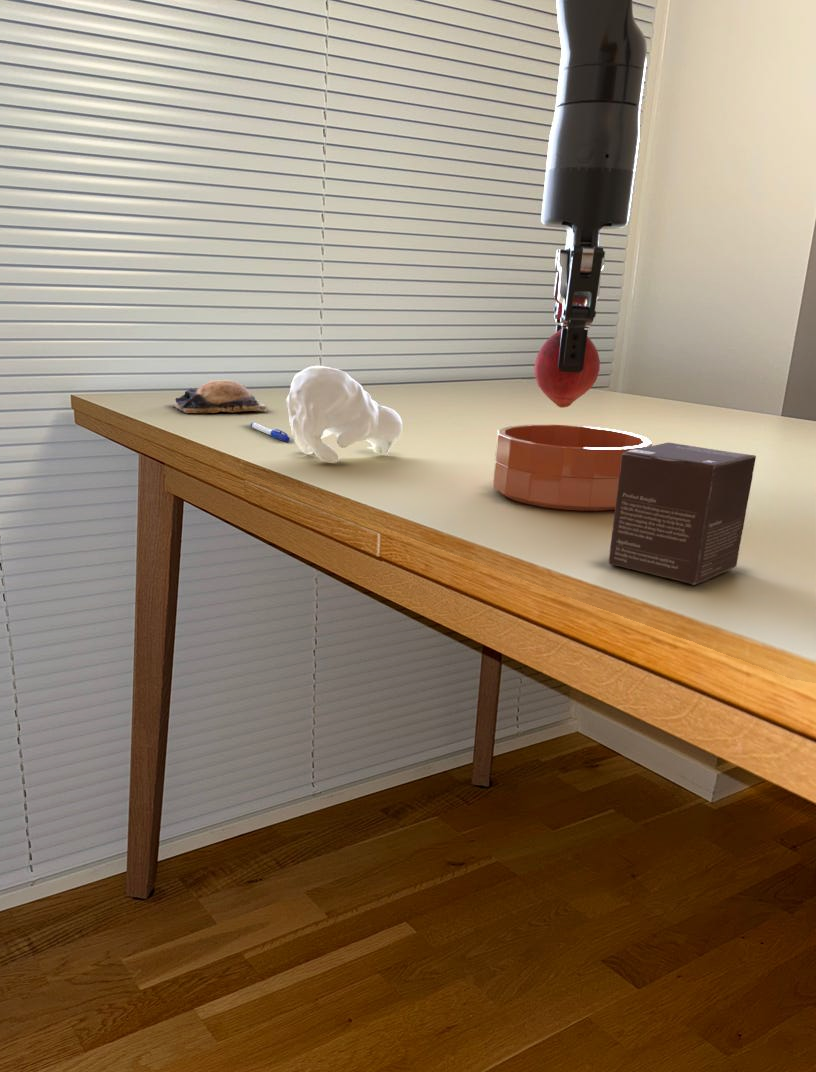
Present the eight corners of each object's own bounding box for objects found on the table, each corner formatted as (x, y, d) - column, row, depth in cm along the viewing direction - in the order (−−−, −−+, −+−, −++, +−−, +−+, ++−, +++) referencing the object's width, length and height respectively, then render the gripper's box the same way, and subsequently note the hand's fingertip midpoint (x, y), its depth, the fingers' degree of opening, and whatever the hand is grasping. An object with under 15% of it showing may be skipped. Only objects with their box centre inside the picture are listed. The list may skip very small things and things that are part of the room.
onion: (562, 413, 87) (573, 320, 84) (517, 405, 91) (526, 316, 88) (606, 410, 90) (618, 320, 87) (561, 402, 94) (571, 316, 91)
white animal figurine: (283, 360, 91) (389, 371, 97) (274, 451, 94) (378, 456, 99) (314, 367, 86) (425, 378, 92) (304, 463, 88) (412, 467, 94)
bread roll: (250, 404, 128) (250, 376, 127) (269, 413, 120) (269, 383, 119) (171, 405, 124) (170, 375, 123) (185, 414, 117) (184, 383, 116)
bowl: (630, 486, 86) (638, 429, 84) (652, 518, 74) (663, 453, 72) (491, 477, 87) (497, 421, 85) (493, 507, 76) (499, 443, 74)
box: (738, 570, 61) (760, 455, 59) (694, 588, 58) (715, 466, 55) (651, 549, 66) (668, 441, 63) (604, 565, 62) (620, 450, 59)
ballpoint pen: (292, 442, 101) (292, 433, 101) (285, 443, 101) (284, 433, 101) (254, 427, 110) (254, 418, 110) (246, 428, 110) (246, 419, 109)
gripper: (648, 159, 76) (618, 378, 82) (623, 176, 89) (599, 364, 96) (552, 157, 77) (529, 374, 83) (541, 174, 90) (522, 360, 96)
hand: (566, 368), depth 89 cm, fingers closed on onion, 6 cm apart
